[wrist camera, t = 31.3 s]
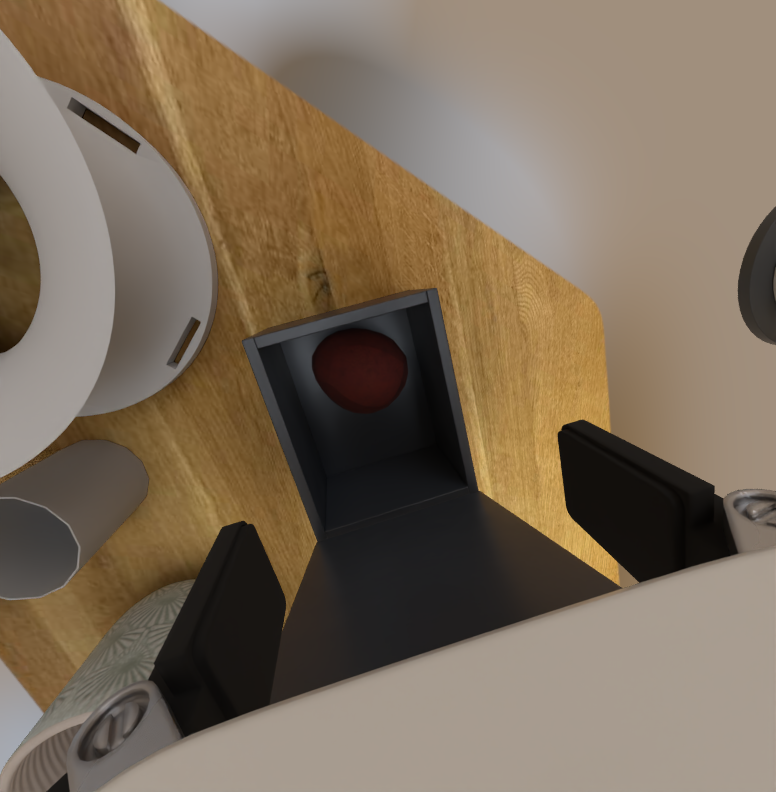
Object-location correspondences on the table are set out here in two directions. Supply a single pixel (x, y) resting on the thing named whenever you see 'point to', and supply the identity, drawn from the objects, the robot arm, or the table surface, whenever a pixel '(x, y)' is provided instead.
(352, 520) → the open box
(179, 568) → the table surface
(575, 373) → the table surface
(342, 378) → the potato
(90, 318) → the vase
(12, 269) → the table surface
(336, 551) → the box lid
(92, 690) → the planter
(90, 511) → the cup
